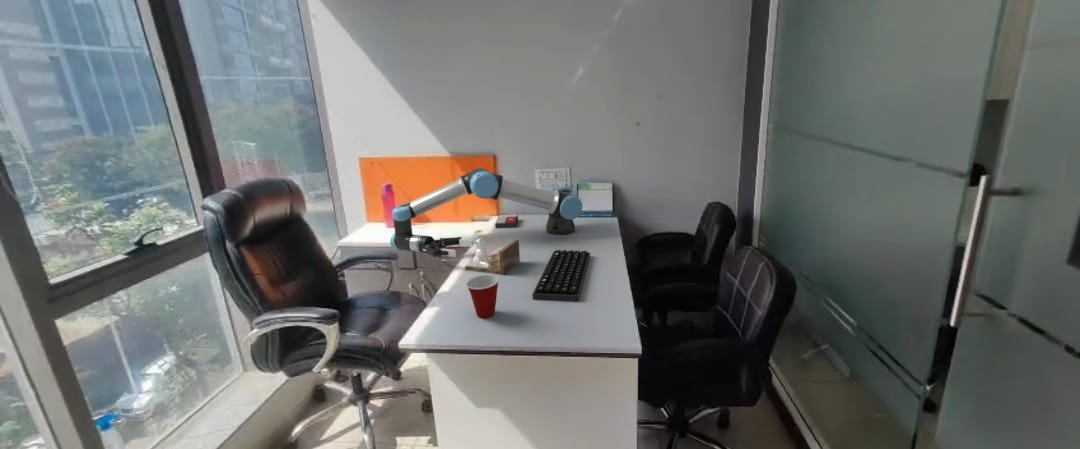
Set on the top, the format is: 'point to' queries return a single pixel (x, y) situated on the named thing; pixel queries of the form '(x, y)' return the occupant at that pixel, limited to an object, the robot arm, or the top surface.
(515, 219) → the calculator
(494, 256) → the offcut stack
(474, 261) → the white creature statuette
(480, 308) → the plastic cup
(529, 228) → the top surface
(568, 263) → the computer keyboard
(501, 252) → the walnut rack
